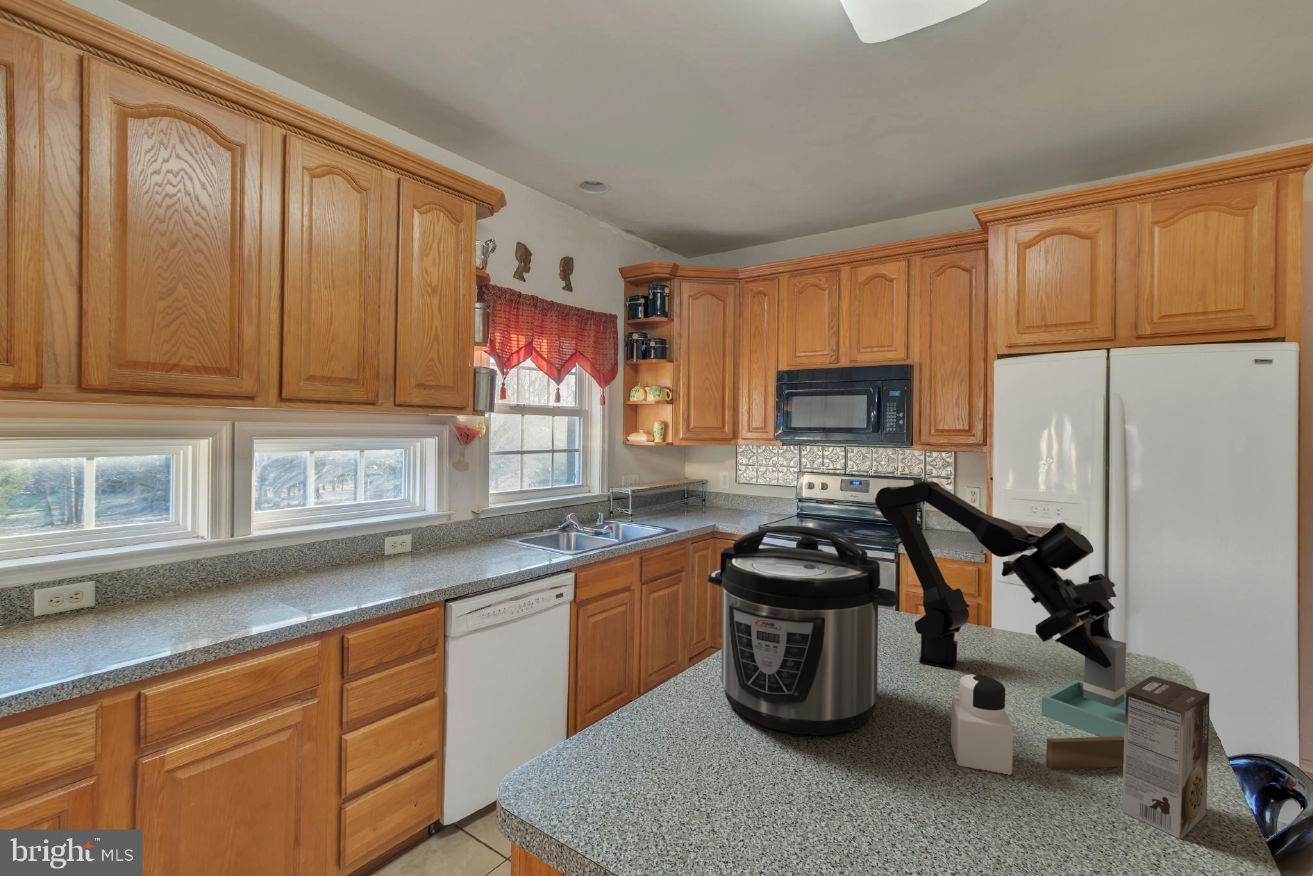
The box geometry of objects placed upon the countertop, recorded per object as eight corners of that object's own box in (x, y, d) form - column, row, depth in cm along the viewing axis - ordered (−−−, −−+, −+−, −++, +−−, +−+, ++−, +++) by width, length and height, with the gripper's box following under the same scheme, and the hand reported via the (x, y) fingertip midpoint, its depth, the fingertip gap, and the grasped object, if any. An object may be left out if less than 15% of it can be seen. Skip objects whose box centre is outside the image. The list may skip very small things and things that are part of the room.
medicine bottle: (1001, 751, 92) (1004, 674, 91) (1012, 776, 85) (1015, 693, 85) (950, 742, 94) (952, 666, 94) (957, 766, 87) (959, 685, 87)
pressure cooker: (681, 686, 112) (685, 519, 112) (794, 660, 126) (798, 511, 125) (790, 767, 86) (796, 549, 85) (918, 722, 100) (923, 535, 99)
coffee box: (1146, 789, 82) (1150, 674, 82) (1208, 816, 77) (1212, 692, 77) (1118, 811, 77) (1123, 688, 77) (1182, 841, 72) (1187, 709, 72)
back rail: (1046, 765, 88) (1046, 738, 88) (1120, 762, 89) (1121, 736, 89) (1051, 769, 87) (1052, 742, 87) (1126, 766, 88) (1127, 739, 88)
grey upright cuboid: (1082, 697, 103) (1085, 639, 102) (1093, 691, 105) (1095, 635, 105) (1114, 707, 99) (1116, 648, 99) (1124, 701, 101) (1126, 643, 101)
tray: (1041, 714, 104) (1042, 696, 104) (1075, 695, 111) (1075, 679, 111) (1137, 750, 93) (1138, 730, 92) (1167, 726, 100) (1167, 708, 100)
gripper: (1058, 565, 99) (1136, 652, 91) (1103, 553, 110) (1177, 630, 101) (1007, 600, 106) (1075, 684, 97) (1054, 586, 117) (1119, 660, 108)
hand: (1114, 663), depth 101 cm, fingers closed on grey upright cuboid, 4 cm apart
